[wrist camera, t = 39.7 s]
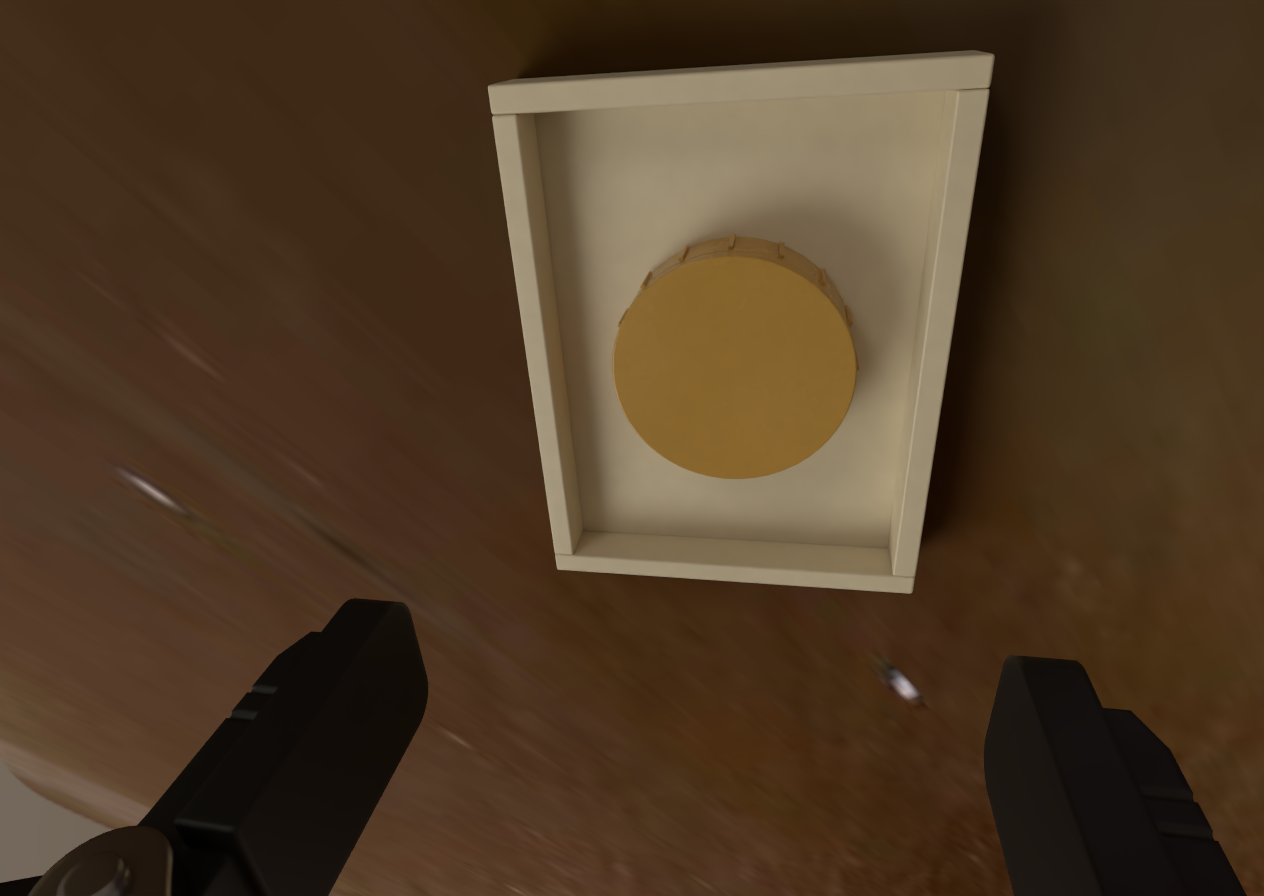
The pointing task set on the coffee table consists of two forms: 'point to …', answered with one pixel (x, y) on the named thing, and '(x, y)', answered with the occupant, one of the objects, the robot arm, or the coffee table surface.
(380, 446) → the coffee table surface
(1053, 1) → the coffee table surface
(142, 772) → the coffee table surface
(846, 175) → the tray
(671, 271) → the jar lid
